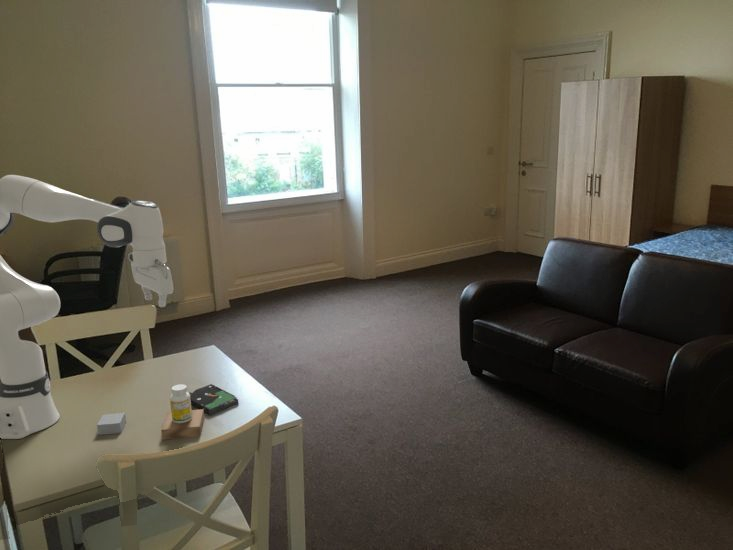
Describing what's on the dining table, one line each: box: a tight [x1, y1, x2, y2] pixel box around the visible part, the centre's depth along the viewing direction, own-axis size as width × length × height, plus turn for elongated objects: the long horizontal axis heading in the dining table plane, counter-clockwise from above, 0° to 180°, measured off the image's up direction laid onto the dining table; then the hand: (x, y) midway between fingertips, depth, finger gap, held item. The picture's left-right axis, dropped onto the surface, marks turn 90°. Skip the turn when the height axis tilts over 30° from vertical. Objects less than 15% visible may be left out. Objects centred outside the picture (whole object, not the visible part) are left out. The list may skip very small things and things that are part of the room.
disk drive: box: [187, 383, 239, 417], centre depth 183 cm, size 10×3×15 cm
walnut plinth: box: [161, 409, 205, 441], centre depth 168 cm, size 10×10×3 cm
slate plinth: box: [96, 412, 127, 436], centre depth 169 cm, size 6×6×3 cm
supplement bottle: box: [169, 383, 193, 423], centre depth 166 cm, size 5×5×10 cm
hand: (155, 303), depth 178 cm, fingers open, 8 cm apart
